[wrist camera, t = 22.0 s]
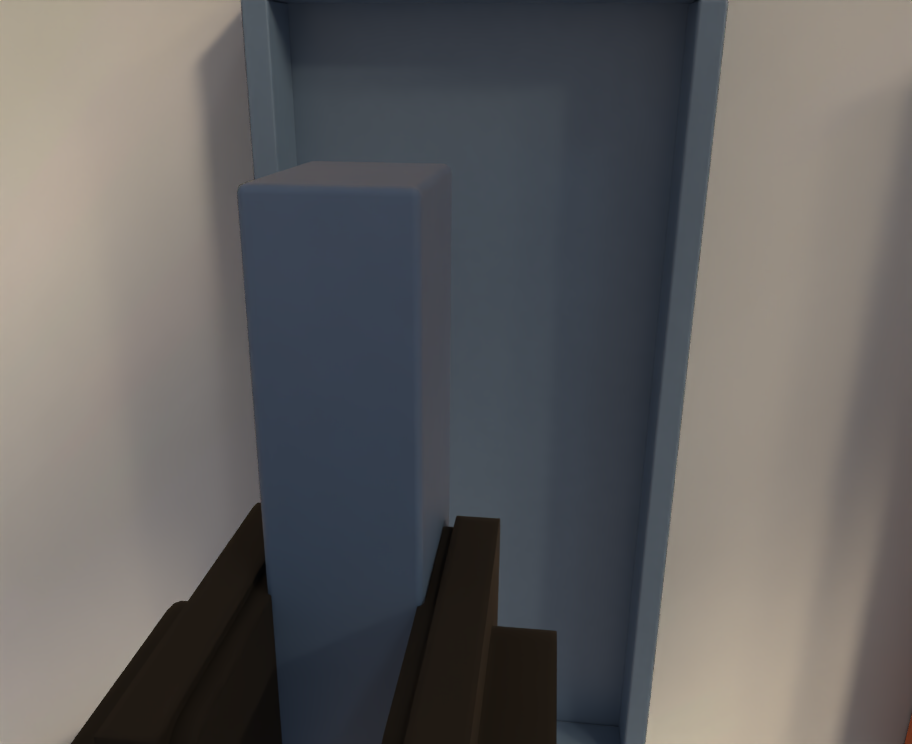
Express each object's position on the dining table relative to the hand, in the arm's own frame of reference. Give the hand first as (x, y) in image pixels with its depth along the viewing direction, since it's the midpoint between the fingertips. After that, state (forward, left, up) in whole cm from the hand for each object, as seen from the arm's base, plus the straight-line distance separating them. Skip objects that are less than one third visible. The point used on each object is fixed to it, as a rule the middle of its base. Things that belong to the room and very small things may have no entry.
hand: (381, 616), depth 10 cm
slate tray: (+2, 0, -12) cm, 13 cm away
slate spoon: (+2, 0, 0) cm, 2 cm away
